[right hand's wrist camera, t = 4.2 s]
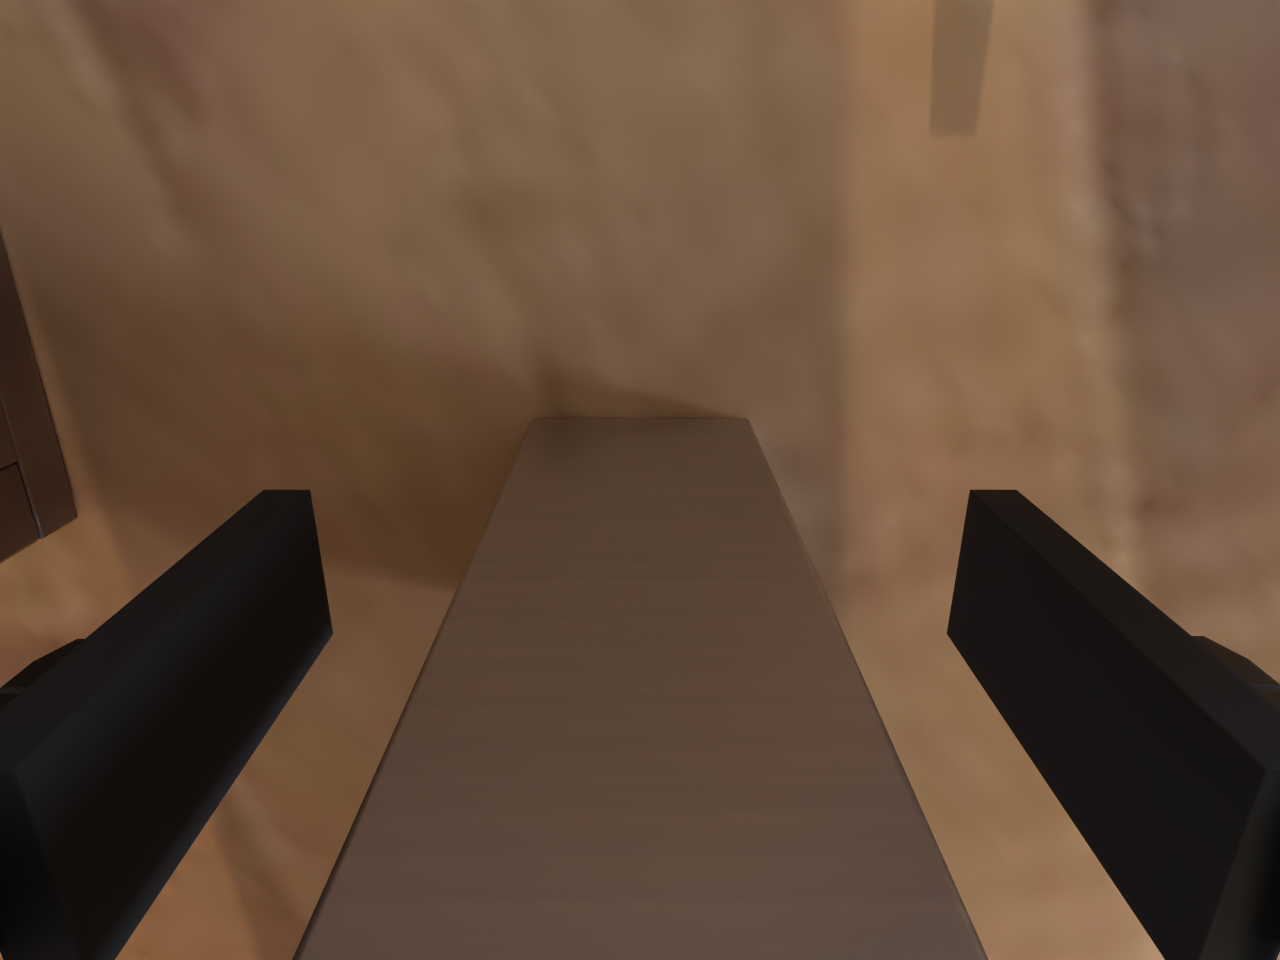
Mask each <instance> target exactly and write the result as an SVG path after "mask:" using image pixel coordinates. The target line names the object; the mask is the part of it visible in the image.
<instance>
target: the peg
mask: <svg viewBox="0 0 1280 960" xmlns="http://www.w3.org/2000/svg"><path fill="white" fill-rule="evenodd" d="M292 960H988V958H987V955H986V953H985V951H984V949H983V946H982V944H981V942H980V940H979V937H978V935H977V933H976V931H975V928H974V926H973V924H972V922H971V919H970V917H969V915H968V913H967V910H966V908H965V906H964V904H963V901H962V899H961V897H960V895H959V892H958V890H957V888H956V886H955V883H954V881H953V879H952V877H951V874H950V872H949V870H948V868H947V865H946V863H945V861H944V859H943V856H942V854H941V852H940V850H939V847H938V845H937V843H936V841H935V838H934V836H933V834H932V832H931V829H930V827H929V825H928V823H927V820H926V818H925V816H924V814H923V811H922V809H921V807H920V805H919V802H918V800H917V798H916V796H915V793H914V791H913V789H912V787H911V784H910V782H909V780H908V778H907V775H906V773H905V771H904V769H903V766H902V764H901V762H900V760H899V757H898V755H897V753H896V751H895V748H894V746H893V744H892V742H891V739H890V737H889V735H888V733H887V730H886V728H885V726H884V724H883V721H882V719H881V717H880V715H879V712H878V710H877V708H876V706H875V703H874V701H873V699H872V697H871V694H870V692H869V690H868V688H867V685H866V683H865V681H864V679H863V676H862V674H861V672H860V670H859V667H858V665H857V663H856V661H855V658H854V656H853V654H852V652H851V649H850V647H849V645H848V643H847V640H846V638H845V636H844V634H843V631H842V629H841V627H840V625H839V622H838V620H837V618H836V616H835V613H834V611H833V609H832V607H831V604H830V602H829V600H828V598H827V595H826V593H825V591H824V588H823V586H822V584H821V582H820V579H819V577H818V575H817V573H816V570H815V568H814V566H813V564H812V561H811V559H810V557H809V555H808V552H807V550H806V548H805V546H804V543H803V541H802V539H801V537H800V534H799V532H798V530H797V528H796V525H795V523H794V521H793V519H792V516H791V514H790V512H789V510H788V507H787V505H786V503H785V501H784V498H783V496H782V494H781V492H780V489H779V487H778V485H777V483H776V480H775V478H774V476H773V474H772V471H771V469H770V467H769V465H768V462H767V460H766V458H765V456H764V453H763V451H762V449H761V447H760V444H759V442H758V440H757V438H756V435H755V433H754V431H753V429H752V426H751V424H750V422H749V420H747V419H534V420H532V421H531V424H530V426H529V428H528V430H527V433H526V435H525V437H524V439H523V442H522V444H521V446H520V448H519V451H518V453H517V455H516V457H515V460H514V462H513V464H512V466H511V469H510V471H509V473H508V475H507V478H506V480H505V482H504V484H503V487H502V489H501V491H500V493H499V496H498V498H497V500H496V502H495V505H494V507H493V509H492V511H491V514H490V516H489V518H488V520H487V523H486V525H485V527H484V529H483V532H482V534H481V536H480V538H479V541H478V543H477V545H476V547H475V550H474V552H473V554H472V556H471V559H470V561H469V563H468V565H467V568H466V570H465V572H464V574H463V577H462V579H461V581H460V583H459V586H458V588H457V590H456V592H455V595H454V597H453V599H452V601H451V604H450V606H449V608H448V610H447V613H446V615H445V617H444V619H443V622H442V624H441V626H440V628H439V631H438V633H437V635H436V637H435V640H434V642H433V644H432V646H431V649H430V651H429V653H428V655H427V658H426V660H425V662H424V664H423V667H422V669H421V671H420V673H419V676H418V678H417V680H416V682H415V685H414V687H413V689H412V691H411V694H410V696H409V698H408V700H407V703H406V705H405V707H404V709H403V712H402V714H401V716H400V718H399V721H398V723H397V725H396V727H395V730H394V732H393V734H392V736H391V739H390V741H389V743H388V745H387V748H386V750H385V752H384V754H383V757H382V759H381V761H380V763H379V766H378V768H377V770H376V772H375V775H374V777H373V779H372V781H371V784H370V786H369V788H368V790H367V793H366V795H365V797H364V799H363V802H362V804H361V806H360V808H359V811H358V813H357V815H356V817H355V820H354V822H353V824H352V826H351V829H350V831H349V833H348V835H347V838H346V840H345V842H344V844H343V847H342V849H341V851H340V853H339V856H338V858H337V860H336V862H335V865H334V867H333V869H332V871H331V874H330V876H329V878H328V880H327V883H326V885H325V887H324V889H323V892H322V894H321V896H320V898H319V901H318V903H317V905H316V907H315V910H314V912H313V914H312V916H311V919H310V921H309V923H308V925H307V928H306V930H305V932H304V934H303V937H302V939H301V941H300V943H299V946H298V948H297V950H296V952H295V955H294V957H293V959H292Z"/></svg>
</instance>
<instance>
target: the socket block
mask: <svg viewBox="0 0 1280 960" xmlns="http://www.w3.org/2000/svg"><path fill="white" fill-rule="evenodd" d="M76 518H77V512H76V508H75V505H74V501H73V497H72V494H71V490H70V487H69V483H68V479H67V476H66V472H65V468H64V465H63V461H62V458H61V454H60V450H59V447H58V443H57V439H56V436H55V432H54V428H53V425H52V421H51V418H50V414H49V410H48V407H47V403H46V399H45V396H44V392H43V389H42V385H41V381H40V378H39V374H38V370H37V367H36V363H35V359H34V356H33V352H32V349H31V345H30V341H29V338H28V334H27V330H26V327H25V323H24V319H23V316H22V312H21V309H20V305H19V301H18V298H17V294H16V290H15V287H14V283H13V280H12V276H11V272H10V269H9V265H8V261H7V258H6V254H5V250H4V247H3V243H2V240H1V236H0V563H1V562H3V561H5V560H6V559H8V558H10V557H11V556H13V555H15V554H16V553H18V552H20V551H21V550H23V549H25V548H26V547H28V546H29V545H31V544H33V543H34V542H36V541H37V540H38V539H43V538H45V537H46V536H48V535H50V534H51V533H53V532H55V531H56V530H58V529H60V528H61V527H63V526H65V525H66V524H68V523H70V522H71V521H73V520H74V519H76Z"/></svg>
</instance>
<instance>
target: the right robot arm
mask: <svg viewBox="0 0 1280 960" xmlns="http://www.w3.org/2000/svg"><path fill="white" fill-rule="evenodd" d="M332 635H333V630H332V624H331V618H330V611H329V605H328V599H327V593H326V586H325V580H324V574H323V568H322V562H321V555H320V549H319V543H318V537H317V530H316V524H315V518H314V512H313V506H312V499H311V493H310V490H263V491H262V492H261V493H259V494H258V495H257V496H256V497H255V498H253V499H252V500H251V501H250V502H249V503H247V504H246V505H245V506H244V507H243V508H241V509H240V510H239V511H238V512H237V513H235V514H234V515H233V516H232V517H231V518H229V519H228V520H227V521H226V522H225V523H223V524H222V525H221V526H220V527H219V528H218V529H216V530H215V531H214V532H213V533H212V534H210V535H209V536H208V537H207V538H206V539H204V540H203V541H202V542H201V543H200V544H198V545H197V546H196V547H195V548H194V549H192V550H191V551H190V552H189V553H188V554H186V555H185V556H184V557H183V558H182V559H180V560H179V561H178V562H177V563H176V564H174V565H173V566H172V567H171V568H170V569H168V570H167V571H166V572H165V573H164V574H162V575H161V576H160V577H159V578H158V579H156V580H155V581H154V582H153V583H152V584H150V585H149V586H148V587H147V588H146V589H144V590H143V591H142V592H141V593H140V594H138V595H137V596H136V597H135V598H134V599H133V600H131V601H130V602H129V603H128V604H127V605H125V606H124V607H123V608H122V609H121V610H119V611H118V612H117V613H116V614H115V615H113V616H112V617H111V618H110V619H109V620H107V621H106V622H105V623H104V624H103V625H101V626H100V627H99V628H98V629H97V630H95V631H94V632H93V633H92V634H91V635H89V636H88V637H87V638H86V639H76V640H74V641H73V642H71V643H69V644H67V645H65V646H63V647H61V648H59V649H57V650H55V651H53V652H51V653H49V654H47V655H45V656H43V657H41V658H39V659H37V660H36V661H34V662H32V663H31V664H30V665H28V666H27V667H26V668H25V669H23V670H22V671H21V672H20V673H18V674H17V675H16V676H15V677H13V678H12V679H11V680H10V681H8V682H7V683H6V684H5V685H3V686H2V687H1V688H0V952H1V954H2V957H3V959H4V960H115V958H116V957H117V955H118V954H119V952H120V951H121V949H122V948H123V946H124V945H125V944H126V942H127V941H128V939H129V938H130V936H131V935H132V933H133V932H134V930H135V929H136V927H137V926H138V924H139V923H140V921H141V920H142V918H143V917H144V915H145V914H146V912H147V911H148V909H149V908H150V906H151V905H152V903H153V902H154V900H155V899H156V897H157V896H158V894H159V893H160V891H161V890H162V888H163V887H164V885H165V884H166V882H167V881H168V879H169V878H170V876H171V875H172V873H173V872H174V870H175V869H176V867H177V866H178V864H179V863H180V861H181V860H182V858H183V857H184V855H185V854H186V852H187V851H188V849H189V848H190V846H191V845H192V843H193V842H194V841H195V839H196V838H197V836H198V835H199V833H200V832H201V830H202V829H203V827H204V826H205V824H206V823H207V821H208V820H209V818H210V817H211V815H212V814H213V812H214V811H215V809H216V808H217V806H218V805H219V803H220V802H221V800H222V799H223V797H224V796H225V794H226V793H227V791H228V790H229V788H230V787H231V785H232V784H233V782H234V781H235V779H236V778H237V776H238V775H239V773H240V772H241V770H242V769H243V767H244V766H245V764H246V763H247V761H248V760H249V758H250V757H251V755H252V754H253V752H254V751H255V749H256V748H257V746H258V745H259V743H260V742H261V741H262V739H263V738H264V736H265V735H266V733H267V732H268V730H269V729H270V727H271V726H272V724H273V723H274V721H275V720H276V718H277V717H278V715H279V714H280V712H281V711H282V709H283V708H284V706H285V705H286V703H287V702H288V700H289V699H290V697H291V696H292V694H293V693H294V691H295V690H296V688H297V687H298V685H299V684H300V682H301V681H302V679H303V678H304V676H305V675H306V673H307V672H308V670H309V669H310V667H311V666H312V664H313V663H314V661H315V660H316V658H317V657H318V655H319V654H320V652H321V651H322V649H323V648H324V646H325V645H326V643H327V642H328V641H329V639H330V638H331V636H332ZM947 635H948V636H949V638H950V639H951V641H952V642H953V644H954V645H955V646H956V648H957V649H958V651H959V652H960V654H961V655H962V657H963V658H964V660H965V661H966V663H967V664H968V666H969V667H970V669H971V670H972V672H973V673H974V675H975V676H976V678H977V679H978V681H979V682H980V684H981V685H982V687H983V688H984V690H985V691H986V693H987V694H988V696H989V697H990V699H991V700H992V702H993V703H994V705H995V706H996V708H997V709H998V711H999V712H1000V714H1001V715H1002V717H1003V718H1004V720H1005V721H1006V723H1007V724H1008V726H1009V727H1010V729H1011V730H1012V732H1013V733H1014V735H1015V736H1016V738H1017V739H1018V741H1019V742H1020V744H1021V745H1022V747H1023V748H1024V749H1025V751H1026V752H1027V754H1028V755H1029V757H1030V758H1031V760H1032V761H1033V763H1034V764H1035V766H1036V767H1037V769H1038V770H1039V772H1040V773H1041V775H1042V776H1043V778H1044V779H1045V781H1046V782H1047V784H1048V785H1049V787H1050V788H1051V790H1052V791H1053V793H1054V794H1055V796H1056V797H1057V799H1058V800H1059V802H1060V803H1061V805H1062V806H1063V808H1064V809H1065V811H1066V812H1067V814H1068V815H1069V817H1070V818H1071V820H1072V821H1073V823H1074V824H1075V826H1076V827H1077V829H1078V830H1079V832H1080V833H1081V835H1082V836H1083V838H1084V839H1085V841H1086V842H1087V844H1088V845H1089V847H1090V848H1091V849H1092V851H1093V852H1094V854H1095V855H1096V857H1097V858H1098V860H1099V861H1100V863H1101V864H1102V866H1103V867H1104V869H1105V870H1106V872H1107V873H1108V875H1109V876H1110V878H1111V879H1112V881H1113V882H1114V884H1115V885H1116V887H1117V888H1118V890H1119V891H1120V893H1121V894H1122V896H1123V897H1124V899H1125V900H1126V902H1127V903H1128V905H1129V906H1130V908H1131V909H1132V911H1133V912H1134V914H1135V915H1136V917H1137V918H1138V920H1139V921H1140V923H1141V924H1142V926H1143V927H1144V929H1145V930H1146V932H1147V933H1148V935H1149V936H1150V938H1151V939H1152V941H1153V942H1154V944H1155V945H1156V947H1157V948H1158V949H1159V951H1160V952H1161V954H1162V955H1163V957H1164V958H1165V960H1276V959H1277V957H1278V954H1279V952H1280V684H1279V683H1277V682H1276V681H1275V680H1274V679H1272V678H1271V677H1270V676H1269V675H1267V674H1266V673H1265V672H1264V671H1262V670H1261V669H1260V668H1259V667H1257V666H1256V665H1255V664H1254V663H1252V662H1251V661H1250V660H1249V659H1247V658H1245V657H1243V656H1241V655H1239V654H1237V653H1235V652H1233V651H1231V650H1229V649H1227V648H1225V647H1224V646H1222V645H1220V644H1218V643H1216V642H1214V641H1212V640H1210V639H1208V638H1206V637H1204V636H1191V635H1189V634H1188V633H1187V632H1186V631H1185V630H1183V629H1182V628H1181V627H1180V626H1179V625H1177V624H1176V623H1175V622H1174V621H1173V620H1171V619H1170V618H1169V617H1168V616H1167V615H1165V614H1164V613H1163V612H1162V611H1161V610H1159V609H1158V608H1157V607H1156V606H1155V605H1153V604H1152V603H1151V602H1150V601H1149V600H1147V599H1146V598H1145V597H1144V596H1143V595H1141V594H1140V593H1139V592H1138V591H1137V590H1136V589H1134V588H1133V587H1132V586H1131V585H1130V584H1128V583H1127V582H1126V581H1125V580H1124V579H1122V578H1121V577H1120V576H1119V575H1118V574H1116V573H1115V572H1114V571H1113V570H1112V569H1110V568H1109V567H1108V566H1107V565H1106V564H1104V563H1103V562H1102V561H1101V560H1100V559H1098V558H1097V557H1096V556H1095V555H1094V554H1092V553H1091V552H1090V551H1089V550H1088V549H1086V548H1085V547H1084V546H1083V545H1082V544H1080V543H1079V542H1078V541H1077V540H1076V539H1074V538H1073V537H1072V536H1071V535H1070V534H1068V533H1067V532H1066V531H1065V530H1064V529H1062V528H1061V527H1060V526H1059V525H1058V524H1056V523H1055V522H1054V521H1053V520H1052V519H1051V518H1049V517H1048V516H1047V515H1046V514H1045V513H1043V512H1042V511H1041V510H1040V509H1039V508H1037V507H1036V506H1035V505H1034V504H1033V503H1031V502H1030V501H1029V500H1028V499H1027V498H1025V497H1024V496H1023V495H1022V494H1021V493H1019V492H1018V491H1017V490H970V493H969V499H968V505H967V512H966V518H965V524H964V530H963V537H962V543H961V549H960V555H959V561H958V568H957V574H956V580H955V586H954V593H953V599H952V605H951V611H950V617H949V624H948V630H947Z"/></svg>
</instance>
